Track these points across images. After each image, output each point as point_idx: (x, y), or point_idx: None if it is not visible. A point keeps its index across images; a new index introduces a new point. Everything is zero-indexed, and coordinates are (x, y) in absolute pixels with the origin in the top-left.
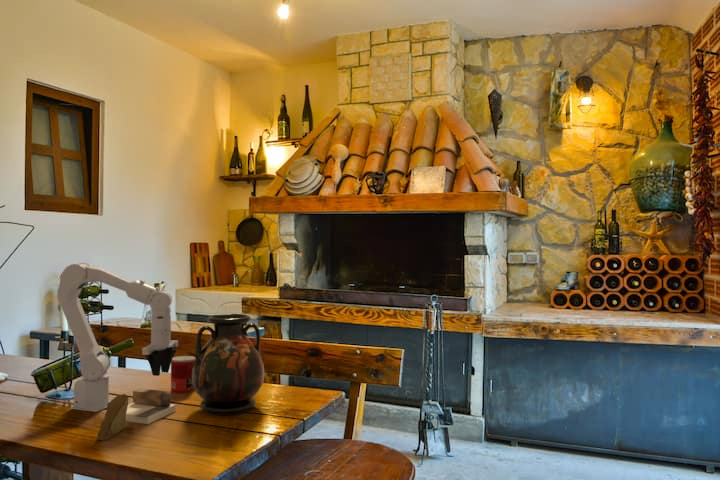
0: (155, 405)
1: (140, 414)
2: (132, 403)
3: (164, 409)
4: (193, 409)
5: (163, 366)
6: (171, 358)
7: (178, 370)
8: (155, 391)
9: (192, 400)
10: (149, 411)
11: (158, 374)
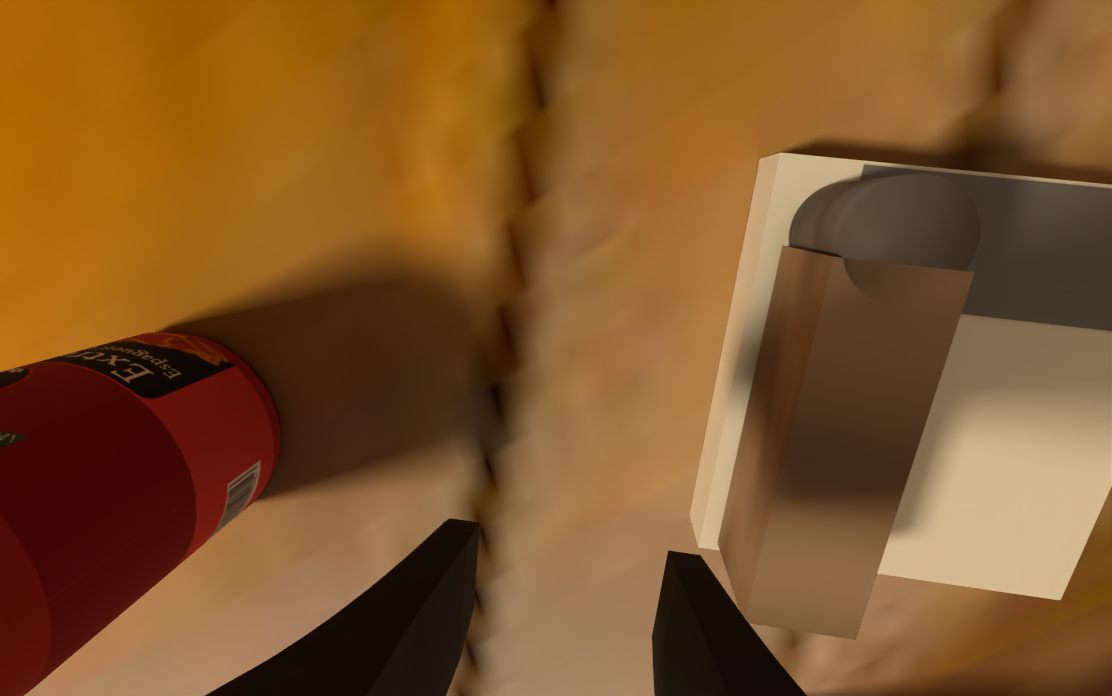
0: None
1: None
2: None
3: (964, 172)
4: (669, 14)
5: (446, 659)
6: (301, 675)
7: (103, 532)
8: (852, 403)
9: (414, 189)
10: (1048, 282)
11: (705, 563)
